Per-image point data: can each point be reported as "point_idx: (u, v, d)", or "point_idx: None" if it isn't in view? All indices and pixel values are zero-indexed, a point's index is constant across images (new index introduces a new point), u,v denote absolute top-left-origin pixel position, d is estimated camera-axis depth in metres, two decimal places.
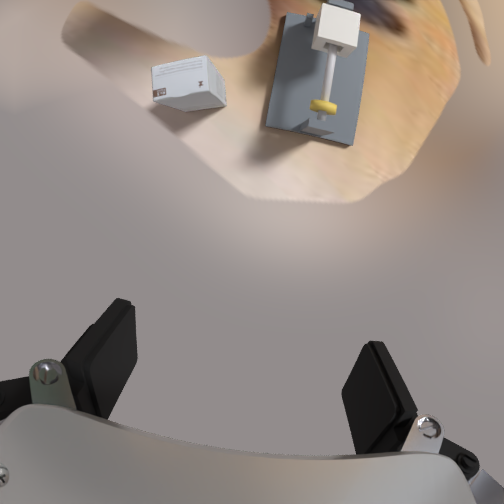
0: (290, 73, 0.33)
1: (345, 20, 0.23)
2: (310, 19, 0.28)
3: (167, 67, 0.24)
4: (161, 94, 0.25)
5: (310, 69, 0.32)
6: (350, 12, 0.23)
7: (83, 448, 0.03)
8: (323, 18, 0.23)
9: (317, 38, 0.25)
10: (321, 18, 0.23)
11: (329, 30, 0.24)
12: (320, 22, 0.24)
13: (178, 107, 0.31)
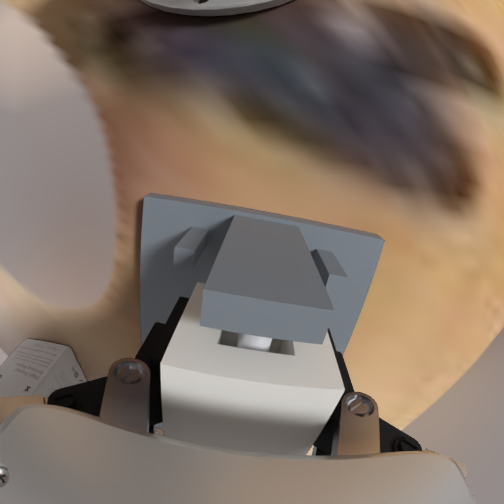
0: None
1: (264, 426, 0.07)
2: None
3: None
4: None
5: None
6: (295, 393, 0.06)
7: (83, 448, 0.03)
8: (173, 423, 0.07)
9: None
10: (166, 421, 0.07)
11: None
12: (167, 429, 0.07)
13: None
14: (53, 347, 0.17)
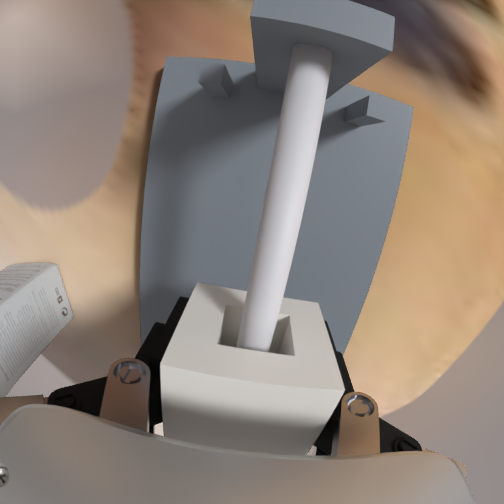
0: (176, 261, 0.14)
1: (264, 426, 0.07)
2: (214, 85, 0.09)
3: None
4: None
5: (228, 246, 0.14)
6: (295, 393, 0.06)
7: (83, 448, 0.03)
8: (173, 423, 0.07)
9: None
10: (166, 421, 0.07)
11: None
12: (166, 429, 0.07)
13: None
14: (37, 265, 0.15)
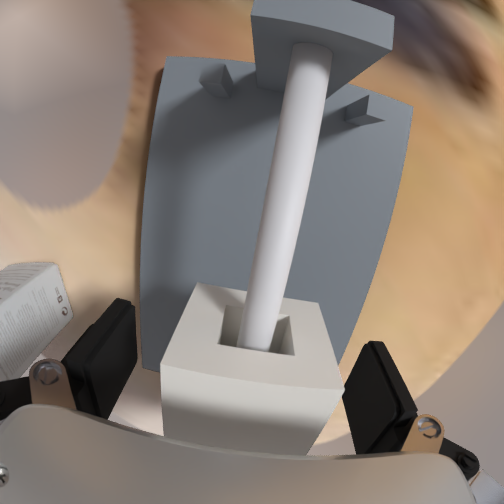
0: (176, 261, 0.14)
1: (264, 426, 0.07)
2: (215, 85, 0.09)
3: None
4: None
5: (228, 245, 0.14)
6: (295, 393, 0.06)
7: (83, 448, 0.03)
8: (173, 423, 0.07)
9: None
10: (166, 421, 0.07)
11: None
12: (166, 429, 0.07)
13: None
14: (37, 265, 0.15)
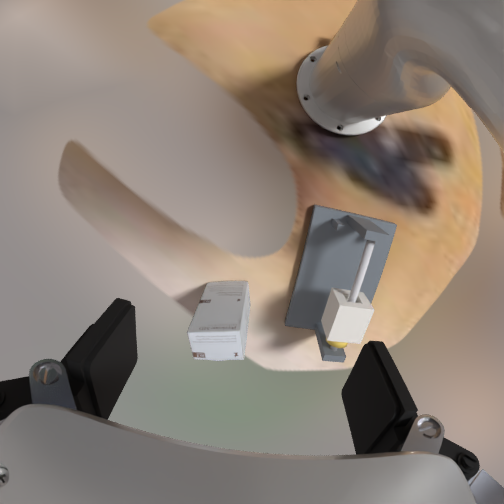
0: (312, 279, 0.39)
1: (357, 321, 0.32)
2: None
3: (203, 336, 0.30)
4: (201, 356, 0.31)
5: (331, 274, 0.39)
6: (364, 310, 0.32)
7: (83, 448, 0.03)
8: (336, 322, 0.32)
9: (326, 337, 0.34)
10: (334, 322, 0.32)
11: (339, 333, 0.33)
12: (332, 326, 0.32)
13: None
14: (237, 282, 0.40)
